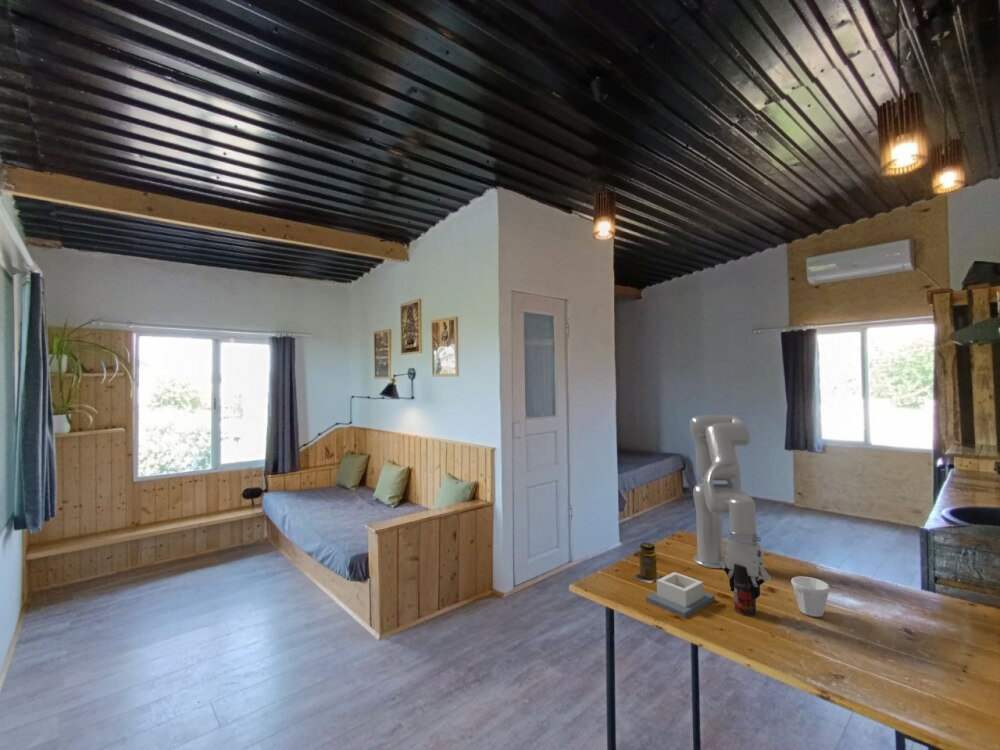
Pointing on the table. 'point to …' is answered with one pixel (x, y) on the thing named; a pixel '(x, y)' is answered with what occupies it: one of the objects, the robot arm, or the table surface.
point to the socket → (680, 594)
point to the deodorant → (743, 592)
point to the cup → (811, 595)
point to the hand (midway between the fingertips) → (744, 593)
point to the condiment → (647, 563)
